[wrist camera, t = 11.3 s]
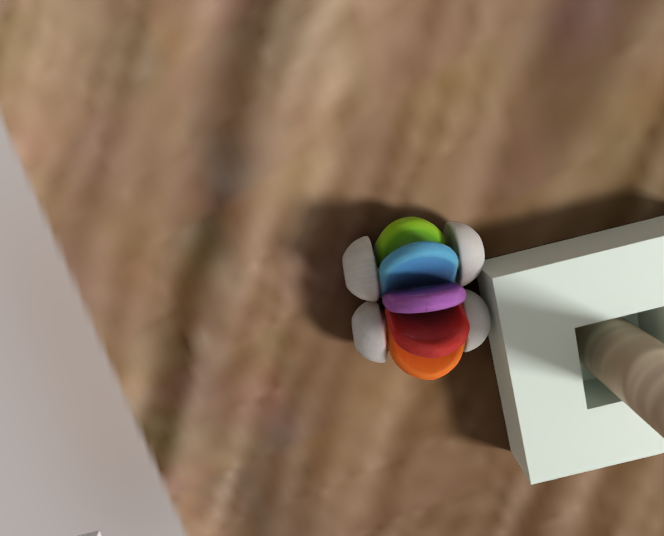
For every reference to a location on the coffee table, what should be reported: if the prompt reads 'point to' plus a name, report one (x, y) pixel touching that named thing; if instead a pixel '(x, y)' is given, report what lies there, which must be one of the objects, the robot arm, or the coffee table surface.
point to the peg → (626, 365)
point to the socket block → (571, 345)
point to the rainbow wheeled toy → (417, 295)
